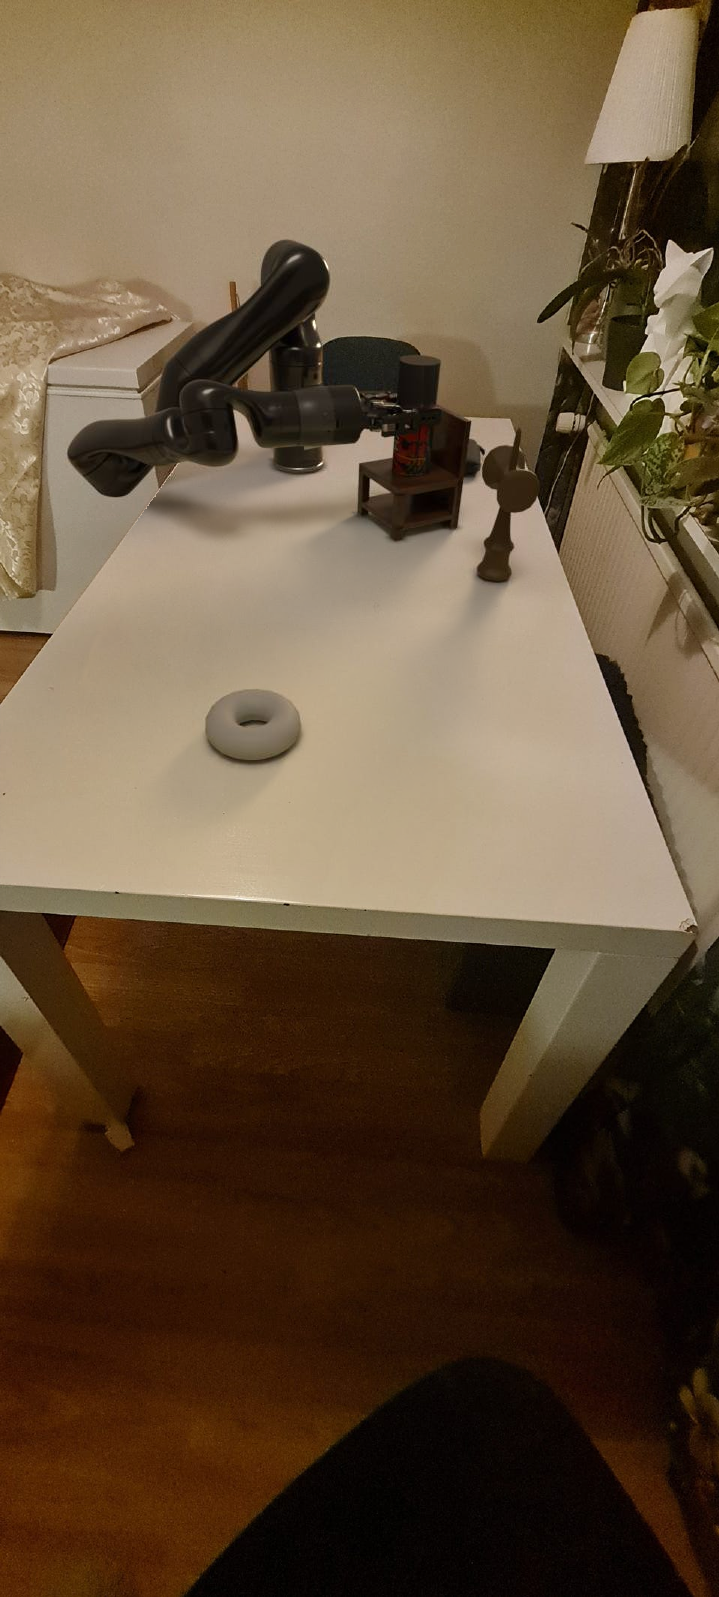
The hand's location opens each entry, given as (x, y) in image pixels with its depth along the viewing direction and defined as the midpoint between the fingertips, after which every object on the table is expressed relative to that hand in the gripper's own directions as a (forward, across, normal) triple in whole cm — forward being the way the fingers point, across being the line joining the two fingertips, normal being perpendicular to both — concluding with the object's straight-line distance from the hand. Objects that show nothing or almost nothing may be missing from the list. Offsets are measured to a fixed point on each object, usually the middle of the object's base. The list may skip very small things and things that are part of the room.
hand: (430, 409), depth 106 cm
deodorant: (-2, 0, -9) cm, 9 cm away
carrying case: (+17, -22, -17) cm, 32 cm away
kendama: (+2, +22, -17) cm, 27 cm away
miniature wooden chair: (-2, 0, -16) cm, 17 cm away
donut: (-40, +47, -17) cm, 64 cm away
